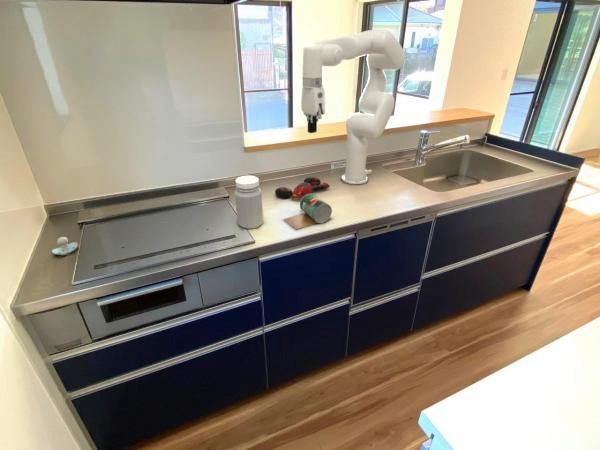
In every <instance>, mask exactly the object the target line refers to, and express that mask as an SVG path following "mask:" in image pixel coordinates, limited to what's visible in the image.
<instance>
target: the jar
mask: <svg viewBox="0 0 600 450" xmlns="http://www.w3.org/2000/svg"><path fill="white" fill-rule="evenodd" d="M259 180H260V179H259V177H258V176H255V175H250V174H249V175H242V176H241V175H240V176H238V177H237V178H236V179H235V190H234V198H235V199H234V200H235V208H236V219H237V225H239V226H240V227H241V228H242V229H247V230H253V229H256V228H259V227H260V226H261V225H262V224H263V223H264V211H263V196H262V195H263V194H262V189H261V188H260V181H259Z"/></svg>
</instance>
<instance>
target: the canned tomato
mask: <svg viewBox="0 0 600 450" xmlns="http://www.w3.org/2000/svg"><path fill="white" fill-rule="evenodd" d="M299 208H300V211H302V212H303V213H306V214H307V215H309V216H310V217H311V218H312V219H314V220H315V221H316V222H318V223H317V224H323V223H326V222H327V221H328V220H330V219H329V218H331V216H332V214H333V213H332V212H333V210H332V207H331V205H330V204H328V203H327V202H325V201H324V200H323V199H321V198H320V197H318V196H317V195H315V194H313V193H311V194H307V195H305V196H304V197H303V198H302V199H300V201H299Z"/></svg>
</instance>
